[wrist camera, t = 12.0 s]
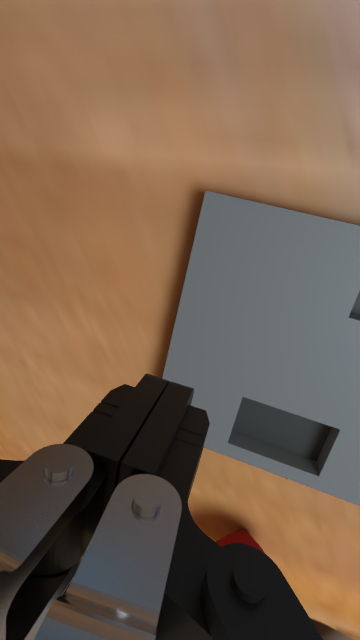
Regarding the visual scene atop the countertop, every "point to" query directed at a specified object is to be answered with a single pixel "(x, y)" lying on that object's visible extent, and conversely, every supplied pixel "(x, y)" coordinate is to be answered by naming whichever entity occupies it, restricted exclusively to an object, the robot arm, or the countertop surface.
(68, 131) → the countertop surface
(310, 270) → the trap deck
